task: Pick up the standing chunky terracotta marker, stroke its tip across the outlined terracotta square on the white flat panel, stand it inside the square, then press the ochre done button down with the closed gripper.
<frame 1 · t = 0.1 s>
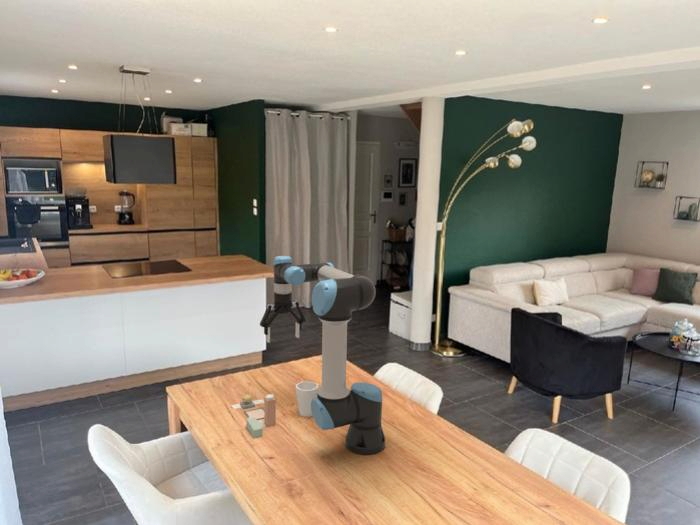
hand: (282, 339, 226), 28 cm above the table, fingers open, 13 cm apart
white flat panel: (257, 417, 214), on the table
done button: (247, 397, 222), point 4 cm above the table, slide at 0.0 cm
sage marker: (254, 431, 201), point 1 cm above the table, touching white flat panel
terracotta marker: (270, 424, 208), point 1 cm above the table, touching white flat panel
foam cup: (306, 415, 218), on the table
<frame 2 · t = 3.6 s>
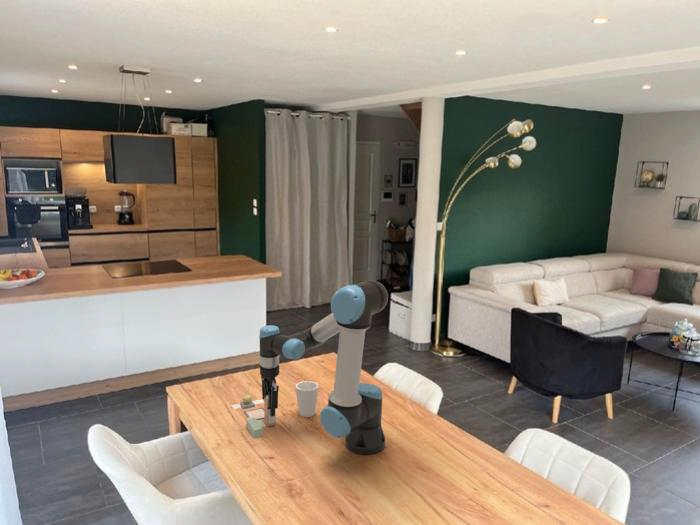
hand: (270, 420, 207), 2 cm above the table, fingers closed on terracotta marker, 3 cm apart
terracotta marker: (270, 424, 208), point 1 cm above the table, touching white flat panel, gripper
everything else where it was.
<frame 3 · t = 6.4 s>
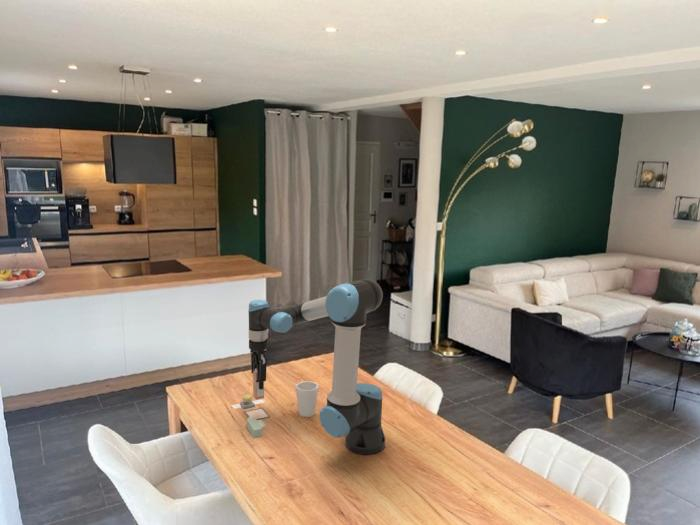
hand: (258, 393, 211), 11 cm above the table, fingers closed on terracotta marker, 3 cm apart
terracotta marker: (258, 397, 211), point 10 cm above the table, touching gripper
everything else where it was.
when the fingers open (4 cm above the table, at t = 9.2 s): terracotta marker drops 2 cm, resting on white flat panel.
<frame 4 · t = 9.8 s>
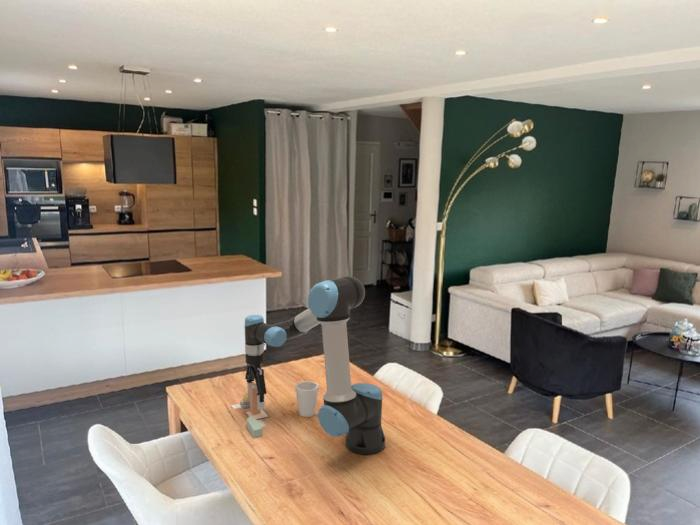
hand: (255, 403, 215), 6 cm above the table, fingers open, 12 cm apart
done button: (247, 397, 222), point 5 cm above the table, slide at 0.0 cm, touching gripper
terracotta marker: (255, 412, 217), point 1 cm above the table, touching white flat panel
everything else where it was.
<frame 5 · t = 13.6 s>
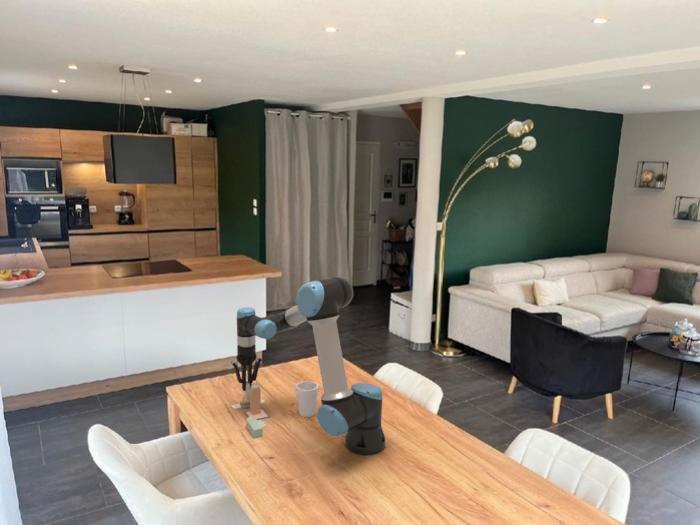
hand: (247, 396, 222), 5 cm above the table, fingers closed
done button: (247, 399, 222), point 4 cm above the table, slide at 0.8 cm, touching gripper
everything else where it was.
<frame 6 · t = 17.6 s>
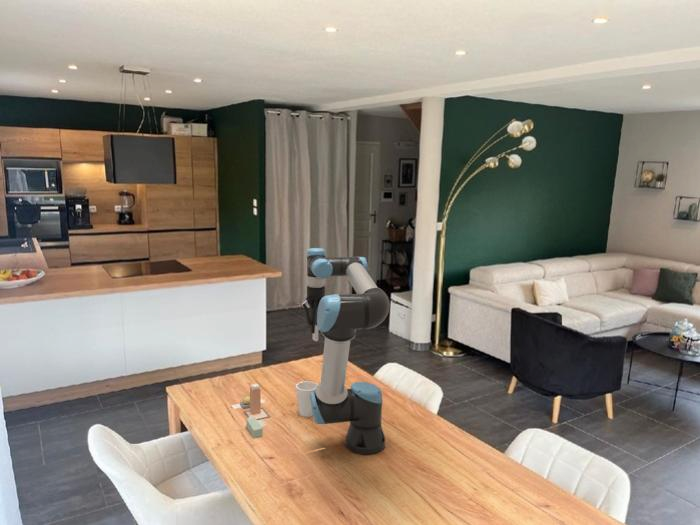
hand: (315, 340, 219), 30 cm above the table, fingers closed
done button: (247, 399, 222), point 4 cm above the table, slide at 0.9 cm
everything else where it was.
at the end: terracotta marker inside the target area (2.0 cm from its centre), point 1.0 cm above the table; terracotta marker tilted 0°; done button slide at 0.9 cm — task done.
